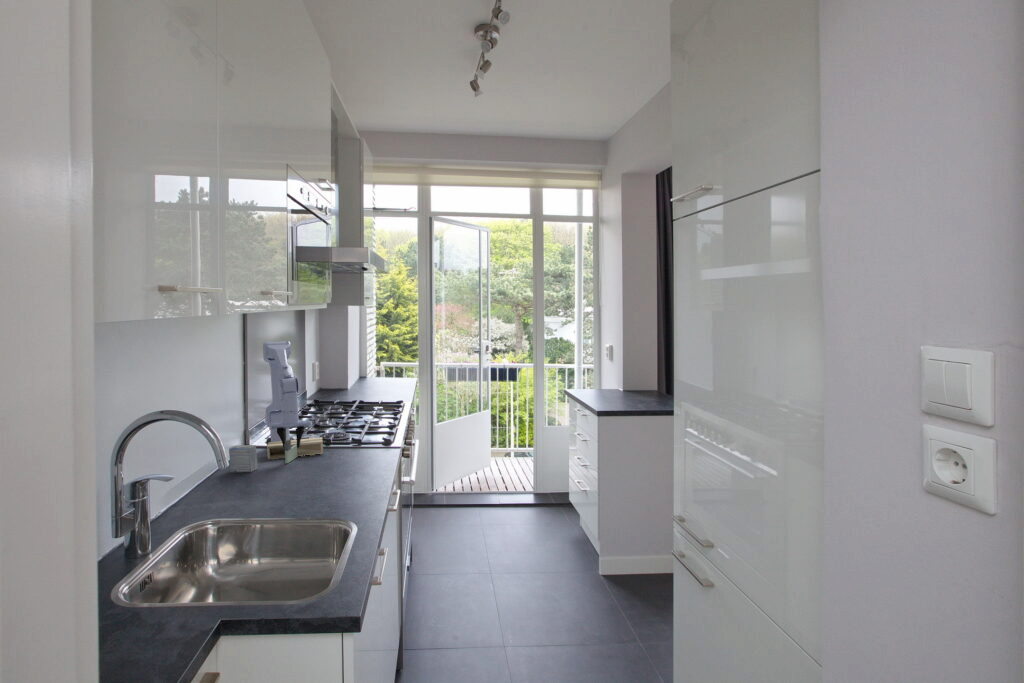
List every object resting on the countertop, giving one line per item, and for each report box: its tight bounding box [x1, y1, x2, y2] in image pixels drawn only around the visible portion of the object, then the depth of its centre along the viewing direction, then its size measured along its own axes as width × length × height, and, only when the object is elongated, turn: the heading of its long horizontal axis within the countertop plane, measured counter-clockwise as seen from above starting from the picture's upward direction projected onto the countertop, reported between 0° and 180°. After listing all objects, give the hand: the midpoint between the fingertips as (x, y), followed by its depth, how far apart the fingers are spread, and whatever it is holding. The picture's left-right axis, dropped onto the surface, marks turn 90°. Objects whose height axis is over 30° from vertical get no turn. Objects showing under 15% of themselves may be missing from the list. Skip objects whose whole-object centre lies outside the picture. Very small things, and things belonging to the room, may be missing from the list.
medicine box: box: [228, 444, 259, 473], centre depth 217 cm, size 8×4×9 cm, turn 84°
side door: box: [284, 439, 299, 464], centre depth 230 cm, size 1×10×8 cm, turn 178°
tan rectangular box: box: [266, 437, 324, 461], centre depth 239 cm, size 8×20×5 cm, turn 108°
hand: (291, 447), depth 227 cm, fingers open, 4 cm apart
